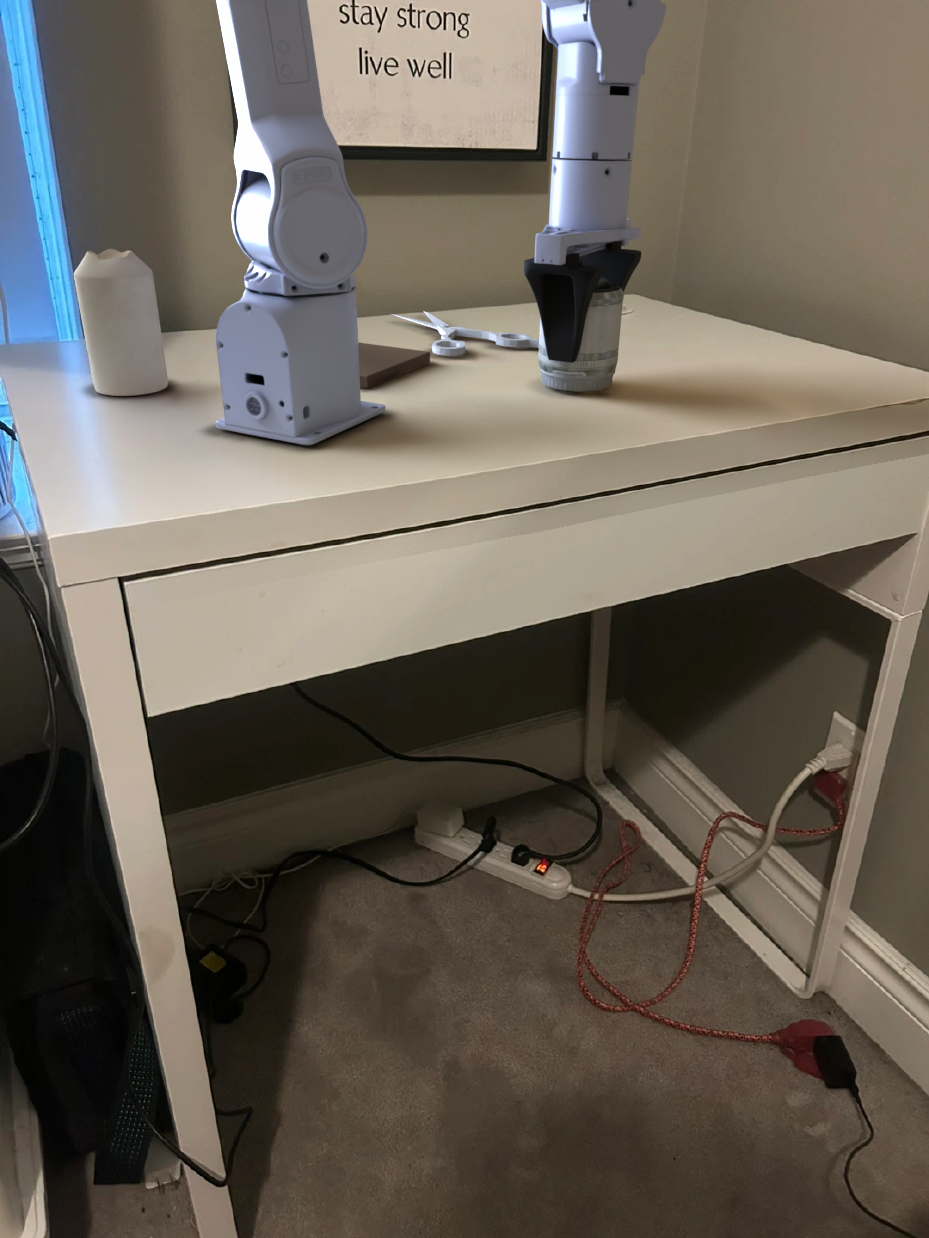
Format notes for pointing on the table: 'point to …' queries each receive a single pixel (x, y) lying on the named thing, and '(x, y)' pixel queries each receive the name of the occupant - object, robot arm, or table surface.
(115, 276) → the candle
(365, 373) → the walnut board
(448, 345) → the scissors
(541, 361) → the camera lens
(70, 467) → the table surface
